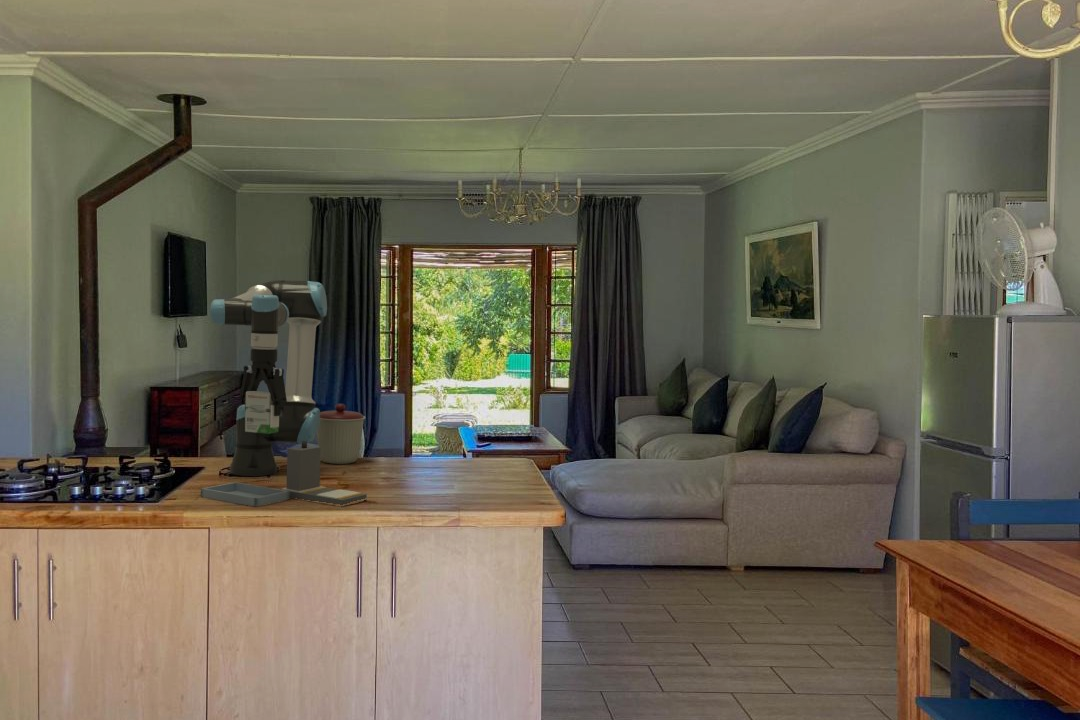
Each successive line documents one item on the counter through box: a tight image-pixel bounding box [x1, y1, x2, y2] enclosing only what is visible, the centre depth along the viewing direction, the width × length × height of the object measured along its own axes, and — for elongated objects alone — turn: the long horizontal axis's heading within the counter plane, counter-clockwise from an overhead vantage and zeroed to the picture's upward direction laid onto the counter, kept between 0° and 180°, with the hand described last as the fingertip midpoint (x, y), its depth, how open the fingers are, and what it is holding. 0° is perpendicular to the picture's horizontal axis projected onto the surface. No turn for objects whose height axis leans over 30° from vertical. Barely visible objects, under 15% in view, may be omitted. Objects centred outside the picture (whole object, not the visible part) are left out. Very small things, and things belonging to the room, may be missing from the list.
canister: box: [316, 403, 366, 465], centre depth 368 cm, size 18×18×21 cm
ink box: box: [245, 390, 278, 434], centre depth 298 cm, size 9×5×12 cm, turn 69°
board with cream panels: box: [279, 485, 368, 505], centre depth 304 cm, size 24×11×2 cm, turn 61°
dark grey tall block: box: [285, 441, 321, 491], centre depth 307 cm, size 5×9×14 cm, turn 151°
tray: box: [200, 481, 291, 508], centre depth 300 cm, size 22×14×2 cm, turn 61°
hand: (262, 425), depth 298 cm, fingers closed on ink box, 9 cm apart
